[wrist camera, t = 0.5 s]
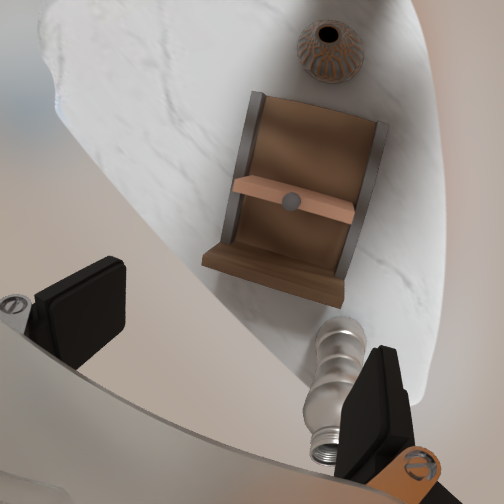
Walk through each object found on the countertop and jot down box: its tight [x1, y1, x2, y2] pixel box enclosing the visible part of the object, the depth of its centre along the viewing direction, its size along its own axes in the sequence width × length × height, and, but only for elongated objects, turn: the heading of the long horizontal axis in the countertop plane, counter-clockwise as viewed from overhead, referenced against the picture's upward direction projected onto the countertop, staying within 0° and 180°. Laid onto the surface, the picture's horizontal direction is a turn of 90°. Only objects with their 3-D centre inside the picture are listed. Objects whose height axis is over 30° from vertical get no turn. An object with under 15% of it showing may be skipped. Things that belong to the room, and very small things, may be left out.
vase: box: [297, 20, 364, 83], centre depth 26 cm, size 7×7×9 cm
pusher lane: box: [201, 91, 389, 309], centre depth 32 cm, size 19×15×8 cm
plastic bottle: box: [303, 316, 367, 466], centre depth 30 cm, size 6×7×20 cm
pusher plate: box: [232, 175, 355, 224], centre depth 31 cm, size 2×12×8 cm, turn 77°
